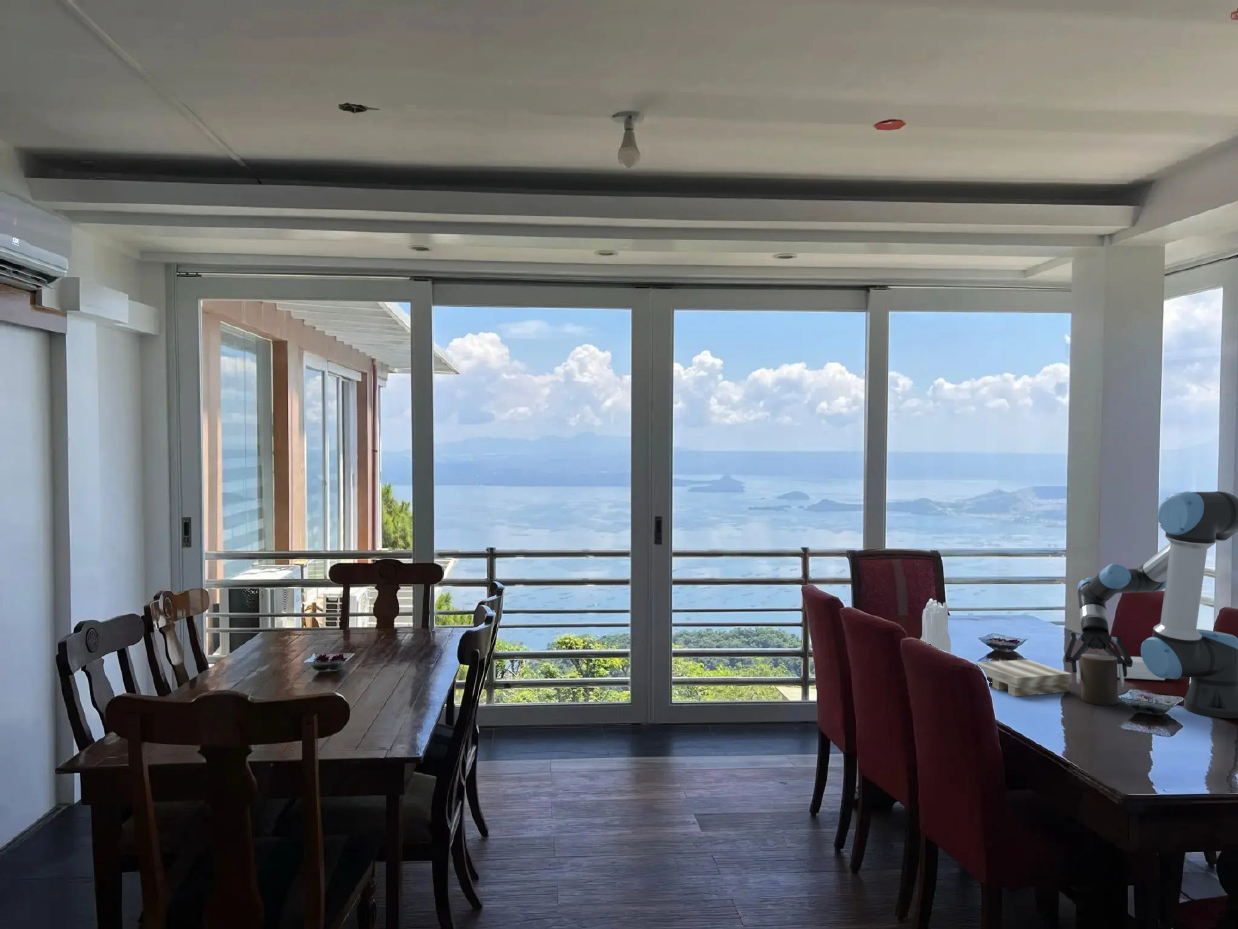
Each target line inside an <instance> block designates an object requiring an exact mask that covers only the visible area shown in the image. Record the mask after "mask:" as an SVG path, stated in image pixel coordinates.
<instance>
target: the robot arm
mask: <svg viewBox="0 0 1238 929" xmlns="http://www.w3.org/2000/svg"><path fill="white" fill-rule="evenodd" d="M1157 521H1158V523H1159V526H1160V528H1161V529H1162V530H1163V531H1164V532H1165V536H1164V537H1165V538H1166V539H1167V541H1169V543H1168V544H1167V545H1166V546H1164V547H1163V548H1162V549H1160V551H1158V552H1157V553H1155V555H1153V556H1152V557H1151V558H1150V559H1148V560H1146V562H1144V563H1143V564H1142V565H1140V566H1139V567H1137V568H1127V567H1125V565H1121V564H1119V563H1115V562H1114V563H1111V564H1110V563H1109V564H1108V565H1107V566H1106V567H1104V568H1103V569H1101V570H1100V571H1099V573H1098V574H1097V575H1096V576H1094V577H1087V578H1085V579H1081V580H1080V581H1079V582H1078V584H1077V598H1078V606H1079V618H1080V629H1081V633H1080V634H1077V633H1075V632H1071V634H1070V642H1069V644H1068V647H1067V650H1066V652H1065V655H1064V662H1065V663H1070V665H1071V672H1072V673H1074V674H1075V675H1076V683H1077V684H1078V685H1081V669H1080V668H1081V667H1080V659H1081V655H1082V654H1085V653H1087V651H1088V650H1089V649H1090V650H1091V649H1092V650H1093V649H1094V650H1103V651H1104V652H1106V653H1108V654H1107V655H1111V656H1114V657H1116V658H1117V663H1118V665H1119V668H1118V670H1119V678H1118V679H1119V685H1120V688H1124V686H1125V678H1124V677H1126V676H1127V667H1132V663H1133V661H1132V659H1131V657H1132V656H1131V655H1130V654H1129V652H1128V650H1127V648H1126V647H1125V645H1124V643H1123V641H1122V639H1123V638H1122V636H1121V635H1117V636H1111V635H1110V631H1109V622H1108V621H1109V620H1108V613H1107V606H1106V604H1107V602H1108V601H1109V600H1110V599H1112V598H1113V597H1114V596H1115V595H1117V594H1131V593H1155V592H1160V591H1163V590H1164V593H1163V602H1162V606H1161V607H1162V608H1161V615H1160V622H1159V623H1158V624H1156V625H1154V626H1153V628H1152V629H1153V630H1152V636H1151V637H1148V638H1146V639H1145V640H1143V642H1142V643H1141V646H1140V655H1141V656H1140V657H1142V659H1143V662H1144V664H1146V666H1147V668H1148V669H1149V671H1151V672H1152V673H1153V674H1154V675H1156V676H1158V677H1160V678H1165V679H1172V680H1178V679H1183V678H1184V679H1185V678H1186V679H1187V678H1190V684H1189V685H1188V688H1187V691H1186V695H1185V696H1184V698H1183V707H1184V709H1185V710H1187V711H1189V712H1191V711H1192V713H1194V712H1195V714H1199V715H1202V716H1207V717H1211V718H1212V717H1213V718H1222V719H1238V637H1237V636H1235V635H1233V634H1230V633H1226V632H1220V631H1215V630H1209V629H1199V628H1197V627H1198V621H1199V620H1198V619H1199V611H1200V604H1201V598H1202V592H1203V591H1202V590H1203V584H1204V583H1203V581H1204V575H1205V569H1206V568H1205V567H1206V561H1207V554H1208V549H1210V548H1211V547H1213V546H1214V545H1215V544H1216V543H1218V542H1224V541H1227V540H1229V539H1230V538H1231V537H1233V536H1234V535H1236V534H1237V533H1238V497H1237V496H1236V495H1234V494H1232V493H1229V492H1226V491H1220V490H1219V491H1183V492H1175V493H1172V494H1170V495H1168V496H1167V497H1166V498H1165V499H1163V500H1162V502H1161V503H1160V505H1159V508H1158V511H1157ZM1079 640H1080V641H1081V642H1083V643H1082V645H1081V646H1080V647H1079V648H1078V649H1077V651H1076V652H1075V654H1073V652H1074V649H1075V646H1076V643H1078V642H1079ZM1111 642H1112V643H1113V644H1114V645H1115V646H1116V647H1117V650H1118V652H1119V653H1118V652H1117V651H1116V650H1115V649H1114V648H1113V646H1112V644H1111ZM1072 654H1073V656H1072ZM1121 656H1122V657H1123V658H1122V657H1121Z"/></svg>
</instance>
